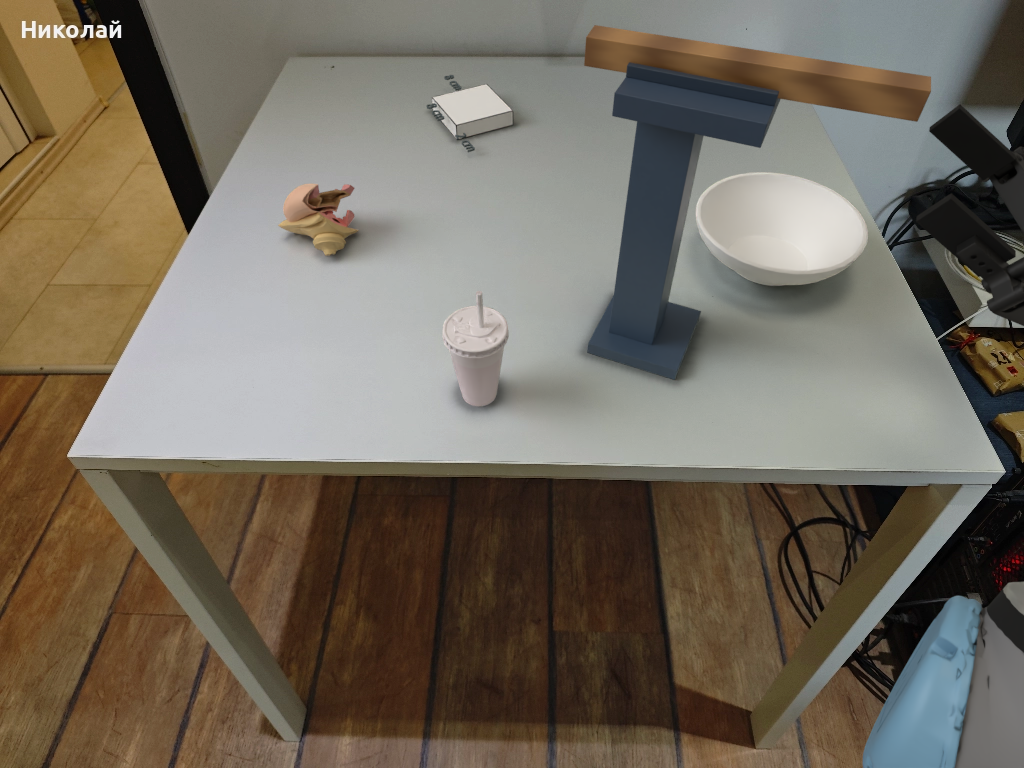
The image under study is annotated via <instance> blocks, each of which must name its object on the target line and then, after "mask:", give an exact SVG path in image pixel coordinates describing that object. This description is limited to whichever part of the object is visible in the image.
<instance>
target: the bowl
mask: <svg viewBox="0 0 1024 768" xmlns="http://www.w3.org/2000/svg"><path fill="white" fill-rule="evenodd" d="M695 222H696V227H697V229H698V233H699V234H700V238H701V239H702V241H703V243H704V244H705V246H706V247H707V249H708V250H709V252H710V253H711V255H713V256H714V258H716V259H717V261H719V262H720V263H722V264H723V265H724V266H726V267H727V268H728V269H730V270H732V271H734V272H735V273H736V274H738V275H739V276H740V277H742V278H744V279H746V280H747V281H750V282H753V283H755V284H759V285H762V286H769V287H770V286H771V287H782V286H802V285H809V284H814V283H818V282H821V281H823V280H827V279H829V278H832V277H834V276H836V275H838V274H839V273H841V272H843V271H845V270H846V269H848V268H849V267H850V266H851V265H852V264H853V263H854V262H855V261H856V260H857V259H858V258H860V256H861V255H862V254H863V252H864V250H865V248H866V246H867V245H868V241H869V240H868V239H869V230H868V226H867V222H866V221H865V219H864V217H863V215H862V214H861V212H860V211H859V209H858V208H856V206H855V205H854V204H853V203H852V202H851V201H849V200H848V199H847V198H845V197H844V195H841V194H840V193H838V192H836V191H835V190H833V189H832V188H830V187H828V186H826V185H824V184H821V183H819V182H816V181H814V180H811V179H809V178H808V179H807V178H804V177H801V176H797V175H792V174H788V173H779V172H769V171H765V172H764V171H763V172H761V171H759V172H757V171H756V172H754V171H753V172H747V173H746V172H745V173H738V174H734V175H731V176H728V177H724V178H722V179H720V180H718V181H716V182H714V183H713V184H711V185H710V186H709V187H707V188H706V189H705V190H704V191H703V192H702V193H701V195H700V196H699V198H698V200H697V203H696V205H695Z"/></svg>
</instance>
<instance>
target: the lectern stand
mask: <svg viewBox="0 0 1024 768" xmlns="http://www.w3.org/2000/svg"><path fill="white" fill-rule="evenodd" d="M778 94H779V91H776V90H771V89H766V88H760V87H755V86H750V85H745V84H740V83H734V82H729V81H724V80H719V79H714V78H709V77H703V76H698V75H693V74H688V73H683V72H677V71H672V70H667V69H662V68H657V67H652V66H646V65H641V64H636V63H631V62H629V64H628V65H627V71H626V73H625V77H624V79H623V80H622V81H621V83H620V85H619V86H618V87H617V89H616V90H615V91H614V96H613V104H612V113H611V116H612V117H614V118H620V119H624V120H627V121H628V120H629V121H634V122H636V126H635V135H634V142H633V148H632V157H631V164H630V171H629V177H628V184H627V185H628V187H627V193H626V201H625V208H624V216H623V222H622V223H623V224H622V229H621V230H622V231H621V238H620V246H619V252H618V260H617V269H616V276H615V283H614V288H613V289H614V290H613V295H612V297H611V299H610V301H609V303H608V304H607V306H606V308H605V310H604V312H603V315H602V316H601V318H600V320H599V321H598V324H597V326H596V327H595V329H594V331H593V333H592V335H591V337H590V338H589V341H588V342H587V349H586V353H587V354H591V355H594V356H597V357H600V358H604V359H607V360H610V361H613V362H616V363H619V364H622V365H626V366H629V367H632V368H635V369H639V370H641V371H644V372H648V373H651V374H654V375H658V376H661V377H664V378H667V379H670V380H674V381H675V380H676V379H677V376H678V373H679V371H680V369H681V366H682V364H683V361H684V359H685V356H686V354H687V351H688V348H689V346H690V344H691V341H692V338H693V337H694V334H695V330H696V328H697V326H698V323H699V321H700V318H701V313H702V310H699V309H695V308H692V307H688V306H685V305H681V304H677V303H674V302H671V301H669V300H670V295H671V290H672V285H673V280H674V276H675V272H676V268H677V263H678V259H679V258H678V257H679V254H680V249H681V245H682V244H681V243H682V238H683V234H684V229H685V225H686V220H687V215H688V211H689V206H690V202H691V197H692V193H693V188H694V181H695V178H696V173H697V168H698V164H699V159H700V155H701V154H700V153H701V149H702V146H703V141H704V137H707V138H712V139H717V140H722V141H725V142H730V143H736V144H741V145H745V146H750V147H753V148H758V149H761V148H762V146H763V143H764V141H765V138H766V136H767V134H768V131H769V128H770V126H771V124H772V120H773V118H774V116H775V114H776V111H777V109H778V107H779V104H780V102H781V99H778Z"/></svg>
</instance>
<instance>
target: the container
mask: <svg viewBox="0 0 1024 768" xmlns="http://www.w3.org/2000/svg"><path fill="white" fill-rule="evenodd" d="M443 78H444V80H445V81H449V80H450V81H449V83H448V84H449V86H451V87H452V88H453V89H454V90H455V91H452V92H451V91H450V92H446V93H444V94H439V95H434V96H432V97H431V103H429V104H426V109H427V110H432V111H431V115H432V116H433V117H434V118H435V119H436V120H437V122H440V121H441V123H442V124H443V125H444V127H445V128H446V129H447V130H448V132H449V133H450V134H451V135H452V136H453V137H454V138H455V140H456V141H459V140H462V139H464V140H462V141H461V145H462V146H463V147H464V148H465V150H466V151H467V153H470V152H474V151H475V150H476V147H475V146H473V144H472V143H471V142H470V140H467V138H470V137H473V136H479V135H481V134H485V133H490V132H493V131H496V130H500V129H504V128H507V127H511V126H514V109H512V108H511V106H510V105H508V103H506V102H505V100H504V99H503V98H502V97H501V96H500V95H499V94H498V93H497V92H495V90H494V89H493V88H492V87H491V86H490V85H489V84H488V83H484V84H480V85H476V86H471V87H468V88H464V89H463V88H462V85H460V84H459V83H458V82H457V81H456V80H453V79H455V75H454V74H449V75H445V76H444V77H443ZM465 143H467V144H465Z"/></svg>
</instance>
